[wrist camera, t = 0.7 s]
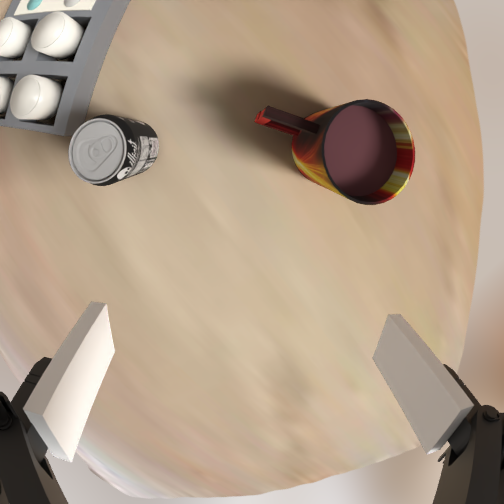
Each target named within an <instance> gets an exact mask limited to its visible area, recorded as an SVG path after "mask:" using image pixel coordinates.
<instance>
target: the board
mask: <svg viewBox="0 0 504 504" xmlns="http://www.w3.org/2000/svg"><path fill="white" fill-rule="evenodd" d="M129 2H130V0H12V2H11V4H10V6H9V9H8V11H7V13H6V15H5V17H4V18H6V17H12V18H15V19H17V20H19V21H21V22H23V23H25V24H27V25H29V26H32V27H33V28H34V29H35V27H36V26H37V24H38V23H39V22H40V21H41V20H42V19H43V18H44V17H45V16H47V15H48V14H50V13H52V12H56V11H61V12H64V13H65V14H66V15H68V16H69V17H71V18H72V19H73V20H75V21H76V22H78V23H79V24H80V25H82V26H83V27H87V29H86V31H85V33H84V36H83V38H82V40H81V43H80V45H79V48H78V50H77V53H76V55H75V58H74V61H73V62H63V61H55V59H56V58H54V57H51V56H49V55H46V54H44V53H41V52H39V51H36V50H35V49H34V48H33V47H32V44H31V37H32V35H31V37H30V40H29V42H28V45H27V47H26V50H25V53H24V56H23V58H22V61H13V60H14V59H10V58H7V57H3V56H0V77H5V78H8V77H16V79H15V83H14V86H13V89H14V87H15V86H16V84H17V83H18V82H19V81H20V80H21V79H22V78H23V77H25V76H27V75H37V76H41V77H44V78H48V79H59V80H67V81H66V84H65V87H64V91H63V94H62V97H61V101H60V104H59V108H58V111H57V115H56V119H55V123H54V124H49V123H43V122H37V120H33V119H18V118H16V117H15V116H14V115H13V114H12V112H11V108H10V101H9V105H8V109H7V113H6V117H0V126H5V127H12V128H19V129H26V130H32V131H38V132H44V133H49V134H55V135H61V136H73V135H74V133H75V131H76V130H77V129H78V128H79V127H80V126H81V125H82V124H84V121H85V117H86V114H87V110H88V107H89V103H90V100H91V97H92V93H93V90H94V87H95V84H96V81H97V78H98V75H99V72H100V70H101V67H102V64H103V61H104V59H105V56H106V54H107V51H108V49H109V46H110V44H111V41H112V39H113V36H114V34H115V32H116V30H117V27H118V25H119V23H120V21H121V19H122V16H123V14H124V12H125V10H126V8H127V6H128V4H129ZM33 31H34V30H33ZM32 34H33V33H32ZM12 92H13V90H12ZM11 95H12V93H11ZM10 99H11V97H10Z"/></svg>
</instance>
